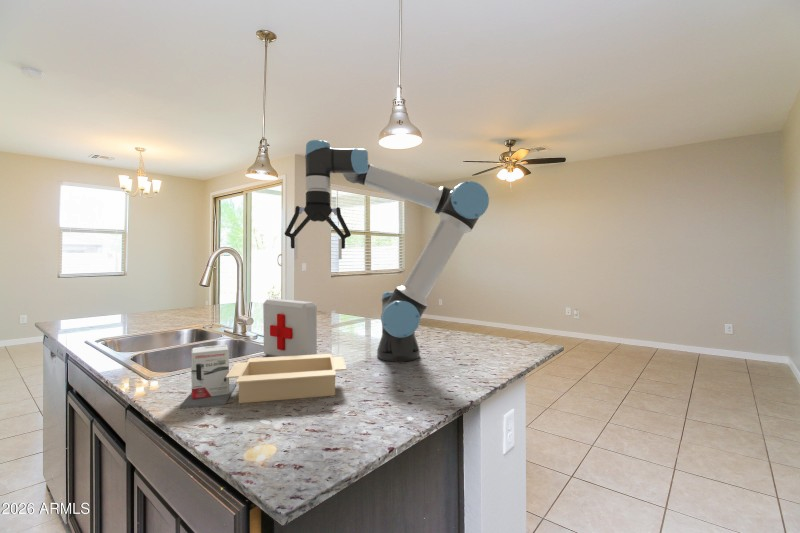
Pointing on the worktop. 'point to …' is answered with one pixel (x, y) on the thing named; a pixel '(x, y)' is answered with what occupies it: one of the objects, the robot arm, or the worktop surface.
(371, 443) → the worktop surface
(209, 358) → the ink box
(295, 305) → the bevelled white case
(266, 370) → the carton
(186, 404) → the mat
